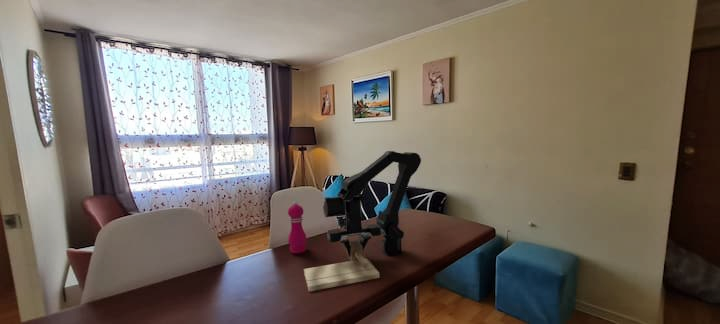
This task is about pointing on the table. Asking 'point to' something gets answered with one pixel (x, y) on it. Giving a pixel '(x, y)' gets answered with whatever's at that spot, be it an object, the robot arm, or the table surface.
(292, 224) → the pepper mill
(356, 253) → the wooden mallet
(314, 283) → the board
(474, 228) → the table surface
